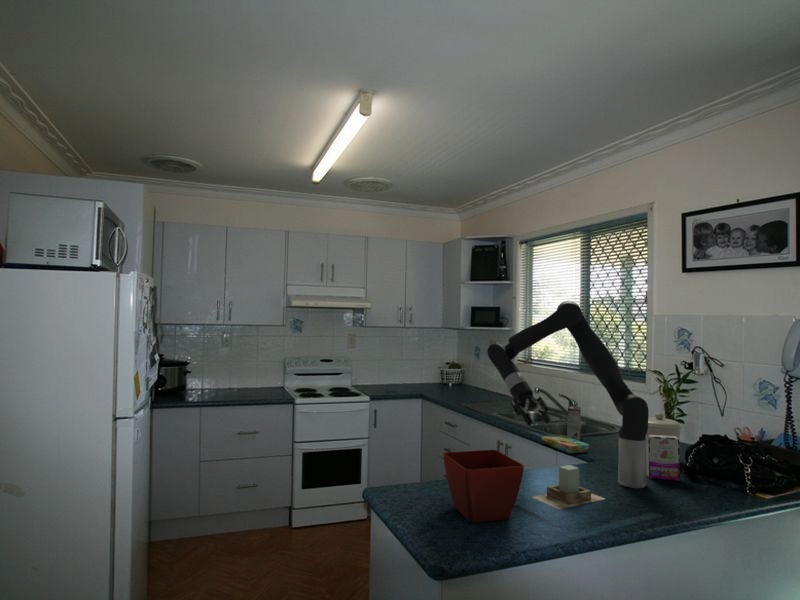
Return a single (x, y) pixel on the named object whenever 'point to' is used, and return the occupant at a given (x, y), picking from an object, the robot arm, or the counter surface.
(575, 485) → the sage block
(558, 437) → the puzzle game
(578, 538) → the counter surface
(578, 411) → the coffee box
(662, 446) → the candy bar box
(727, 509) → the counter surface
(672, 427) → the canister
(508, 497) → the plant pot
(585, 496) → the puzzle board
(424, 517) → the counter surface
